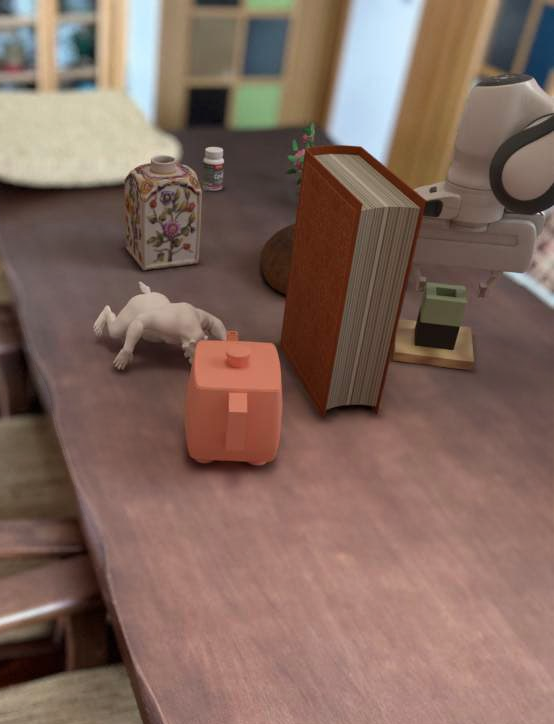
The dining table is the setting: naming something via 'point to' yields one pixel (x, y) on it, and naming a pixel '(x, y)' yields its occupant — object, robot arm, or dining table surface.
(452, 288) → the green hollow square block
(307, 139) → the flower vase
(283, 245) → the bread
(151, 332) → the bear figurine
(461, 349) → the base board
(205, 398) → the teapot
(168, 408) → the dining table surface
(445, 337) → the black hollow square block
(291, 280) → the book
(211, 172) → the pill bottle
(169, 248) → the decorative jar
